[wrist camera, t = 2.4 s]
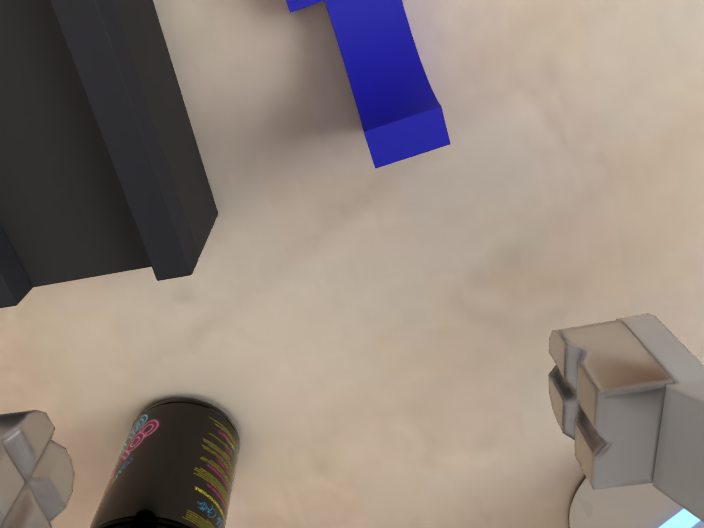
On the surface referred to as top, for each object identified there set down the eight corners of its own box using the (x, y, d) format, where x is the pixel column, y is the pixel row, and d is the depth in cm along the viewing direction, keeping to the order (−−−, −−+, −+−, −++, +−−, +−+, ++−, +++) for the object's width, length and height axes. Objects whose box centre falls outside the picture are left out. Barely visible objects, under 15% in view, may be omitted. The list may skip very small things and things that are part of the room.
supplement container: (178, 373, 34) (121, 527, 24) (264, 432, 36) (242, 592, 27) (110, 434, 36) (35, 598, 27) (196, 486, 38) (155, 653, 29)
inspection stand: (101, -168, 22) (21, -215, 16) (218, 214, 29) (192, 275, 23) (-122, -121, 22) (-279, -150, 16) (49, 244, 30) (-18, 311, 24)
